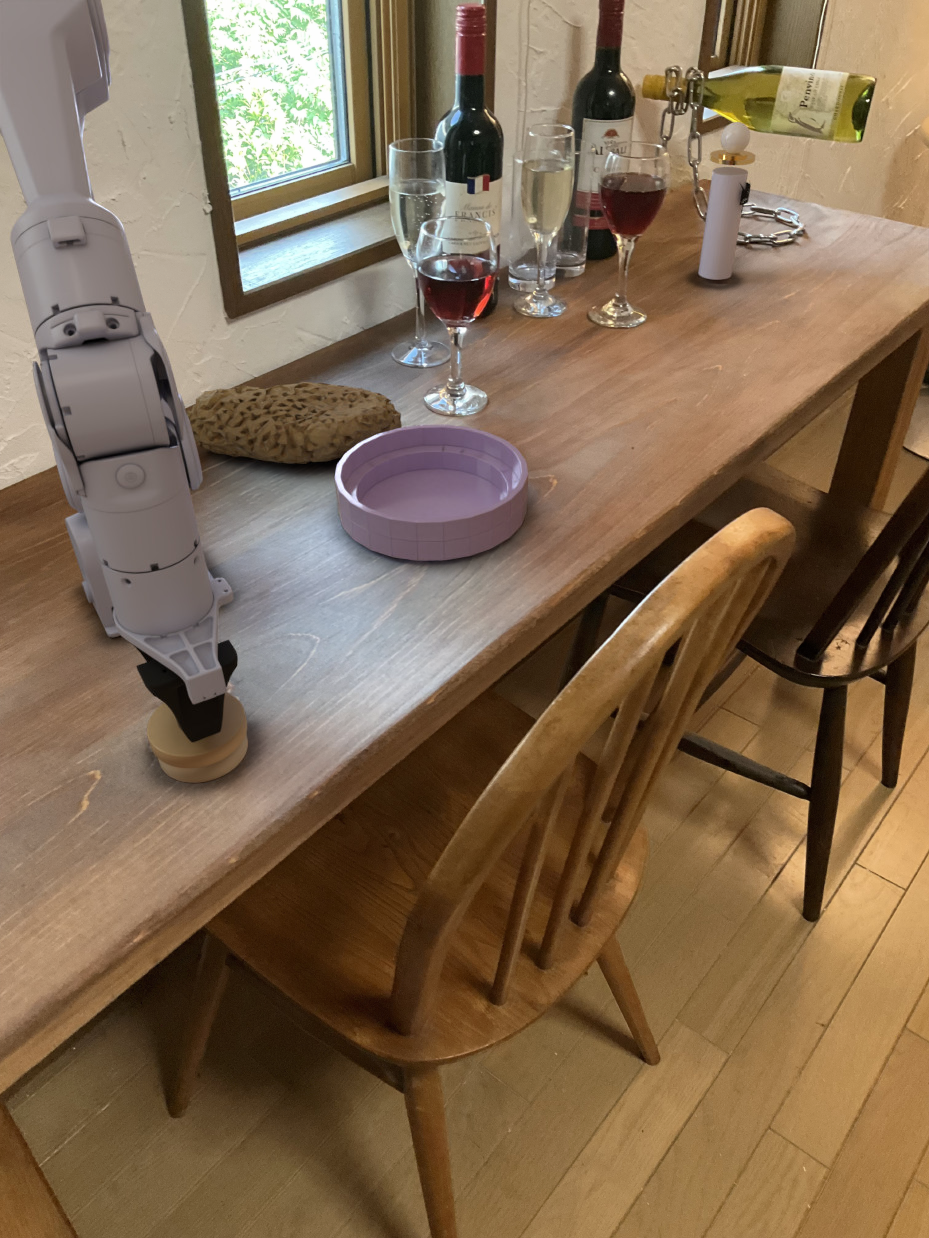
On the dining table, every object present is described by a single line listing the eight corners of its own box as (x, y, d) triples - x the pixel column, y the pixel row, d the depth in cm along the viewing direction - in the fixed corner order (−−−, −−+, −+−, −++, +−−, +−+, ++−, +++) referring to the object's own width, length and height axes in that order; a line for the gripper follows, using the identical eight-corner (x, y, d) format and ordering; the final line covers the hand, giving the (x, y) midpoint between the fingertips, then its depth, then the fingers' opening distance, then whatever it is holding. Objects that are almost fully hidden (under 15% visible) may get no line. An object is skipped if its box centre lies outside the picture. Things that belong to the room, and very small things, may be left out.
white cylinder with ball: (690, 284, 133) (712, 126, 121) (695, 270, 138) (717, 116, 125) (733, 288, 132) (759, 128, 119) (736, 274, 136) (762, 118, 124)
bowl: (393, 589, 80) (389, 544, 77) (310, 496, 91) (304, 454, 88) (563, 528, 86) (565, 485, 83) (465, 449, 98) (465, 409, 95)
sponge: (188, 476, 97) (354, 478, 88) (168, 398, 94) (339, 393, 85) (266, 441, 107) (421, 440, 98) (251, 370, 104) (410, 362, 95)
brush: (172, 799, 62) (149, 725, 58) (144, 738, 67) (121, 665, 62) (265, 761, 65) (249, 687, 60) (232, 704, 69) (215, 632, 65)
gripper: (261, 587, 52) (293, 760, 60) (178, 471, 61) (215, 633, 70) (130, 630, 49) (183, 805, 57) (65, 502, 59) (119, 667, 67)
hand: (194, 714), depth 64 cm, fingers open, 4 cm apart
